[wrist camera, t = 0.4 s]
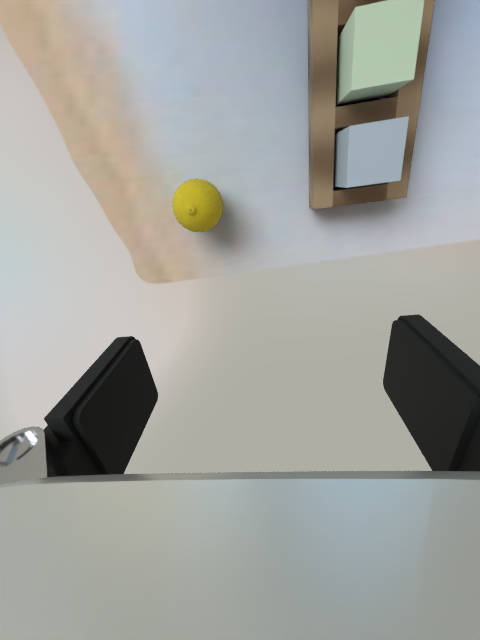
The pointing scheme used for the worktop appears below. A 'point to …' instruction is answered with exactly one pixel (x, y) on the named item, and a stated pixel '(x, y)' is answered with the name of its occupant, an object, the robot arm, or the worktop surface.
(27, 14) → the worktop surface
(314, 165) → the button board
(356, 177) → the button slate
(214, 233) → the worktop surface
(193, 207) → the lemon
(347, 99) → the button sage
